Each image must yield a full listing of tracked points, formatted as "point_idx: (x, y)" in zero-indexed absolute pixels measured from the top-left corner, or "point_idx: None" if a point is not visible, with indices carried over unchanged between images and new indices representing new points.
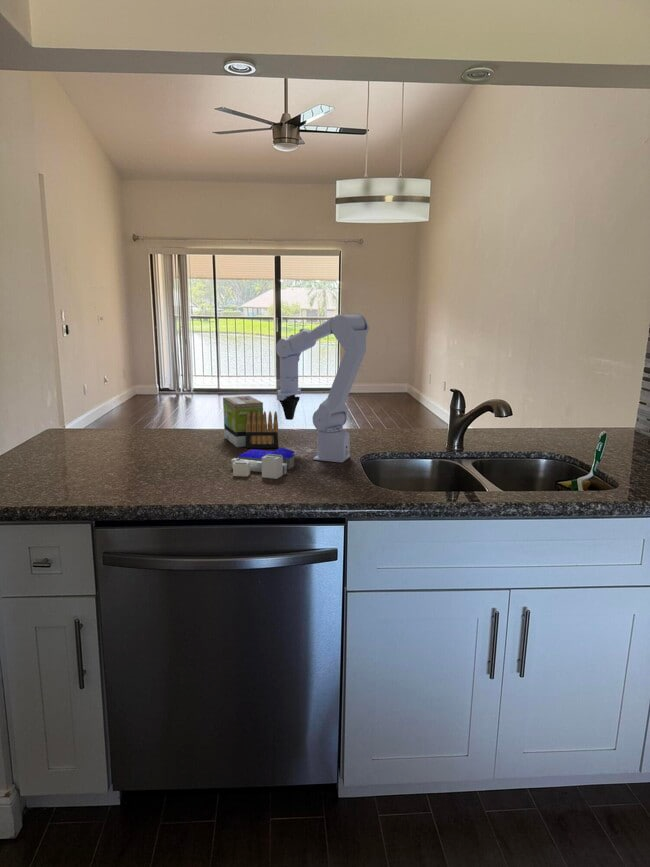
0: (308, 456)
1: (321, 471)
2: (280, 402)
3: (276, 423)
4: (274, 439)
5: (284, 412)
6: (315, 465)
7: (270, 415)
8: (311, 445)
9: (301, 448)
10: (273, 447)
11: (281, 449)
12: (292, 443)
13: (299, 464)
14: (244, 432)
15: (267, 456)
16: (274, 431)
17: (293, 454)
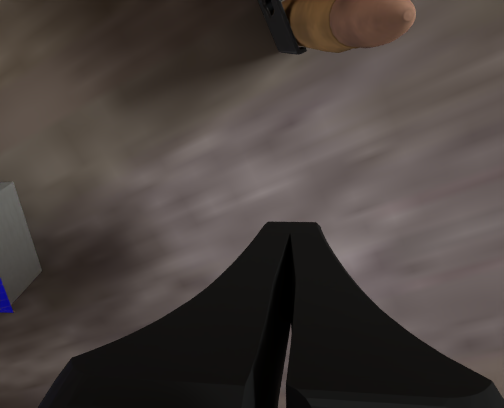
0: (188, 294)
1: (3, 400)
2: (108, 352)
3: (321, 44)
4: (276, 23)
5: (236, 264)
6: (62, 363)
7: None
8: (462, 227)
9: (354, 198)
10: (264, 15)
11: None
12: (496, 76)
13: (32, 302)
14: None
15: None
16: (291, 20)
17: (10, 299)
